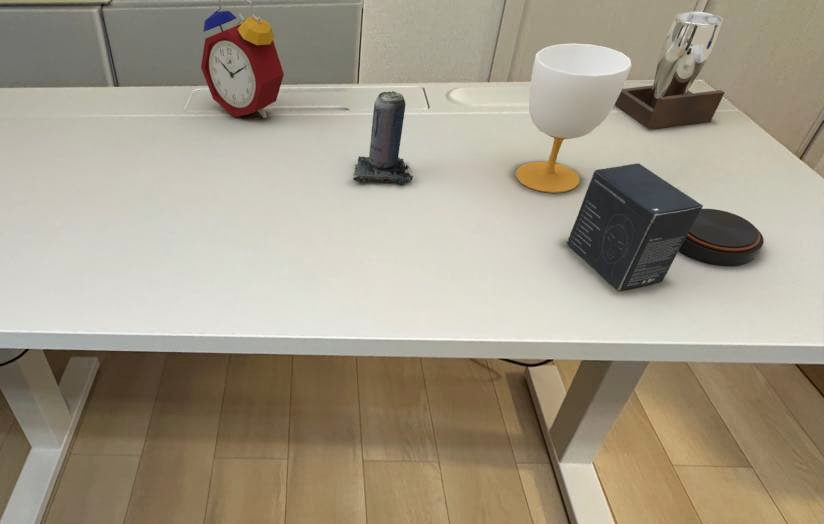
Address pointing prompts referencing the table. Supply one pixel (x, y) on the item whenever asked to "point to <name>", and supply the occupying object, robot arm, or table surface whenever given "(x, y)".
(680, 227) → the box
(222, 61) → the alarm clock
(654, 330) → the table surface
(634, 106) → the wooden tray
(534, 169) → the cup
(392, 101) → the beverage can
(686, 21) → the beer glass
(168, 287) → the table surface
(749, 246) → the hot plate
